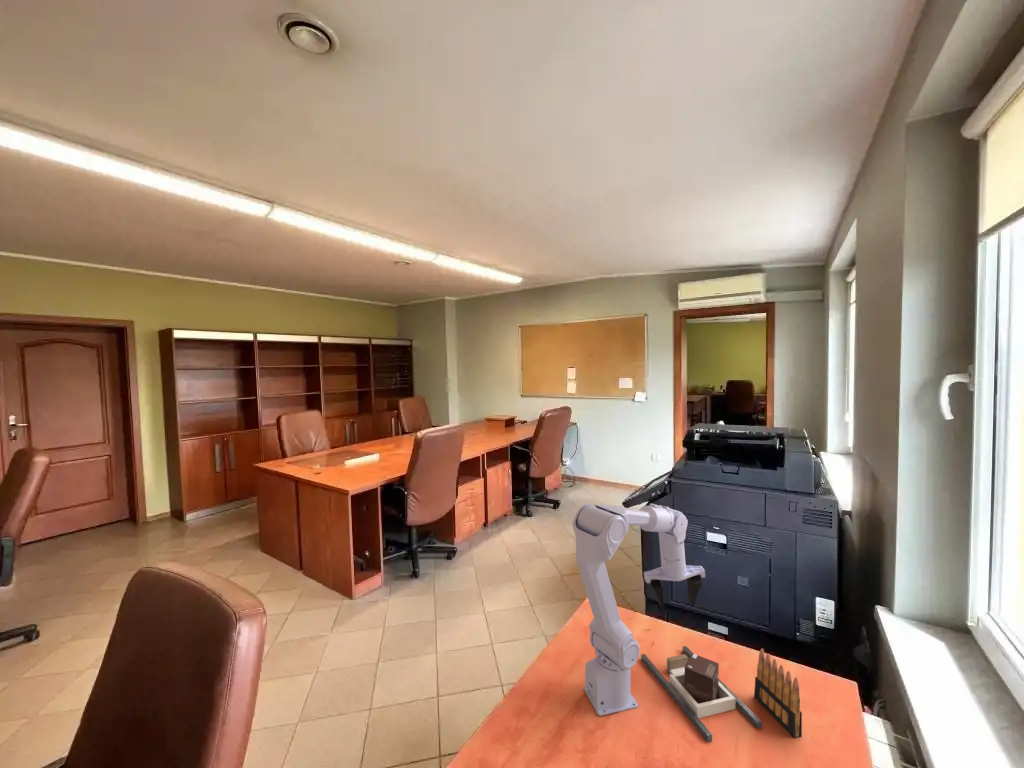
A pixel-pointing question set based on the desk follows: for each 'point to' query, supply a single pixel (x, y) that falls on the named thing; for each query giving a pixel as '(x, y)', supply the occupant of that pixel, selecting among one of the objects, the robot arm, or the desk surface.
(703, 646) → the desk surface
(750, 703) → the desk surface
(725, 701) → the frame
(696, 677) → the box
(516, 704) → the desk surface
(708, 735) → the track
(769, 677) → the ammunition clip
